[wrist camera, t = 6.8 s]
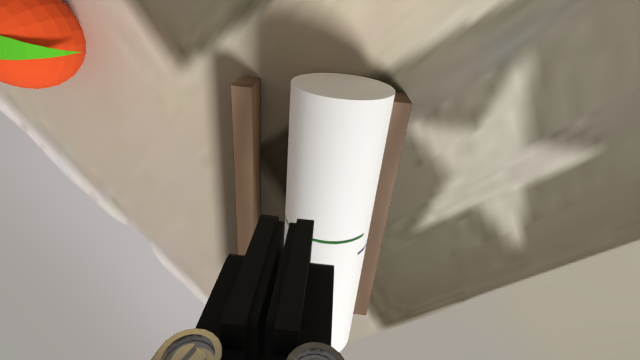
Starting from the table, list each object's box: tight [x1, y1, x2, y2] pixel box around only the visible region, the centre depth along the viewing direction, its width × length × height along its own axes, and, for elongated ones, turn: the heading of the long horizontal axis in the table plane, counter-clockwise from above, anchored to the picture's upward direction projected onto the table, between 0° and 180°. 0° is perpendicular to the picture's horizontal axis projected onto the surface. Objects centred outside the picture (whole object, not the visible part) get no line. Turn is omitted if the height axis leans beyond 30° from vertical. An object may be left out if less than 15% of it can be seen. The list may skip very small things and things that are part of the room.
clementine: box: [0, 0, 86, 89], centre depth 24 cm, size 8×7×7 cm
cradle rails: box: [231, 77, 412, 315], centre depth 31 cm, size 13×22×3 cm, turn 175°
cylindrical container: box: [284, 73, 395, 352], centre depth 30 cm, size 7×7×25 cm
